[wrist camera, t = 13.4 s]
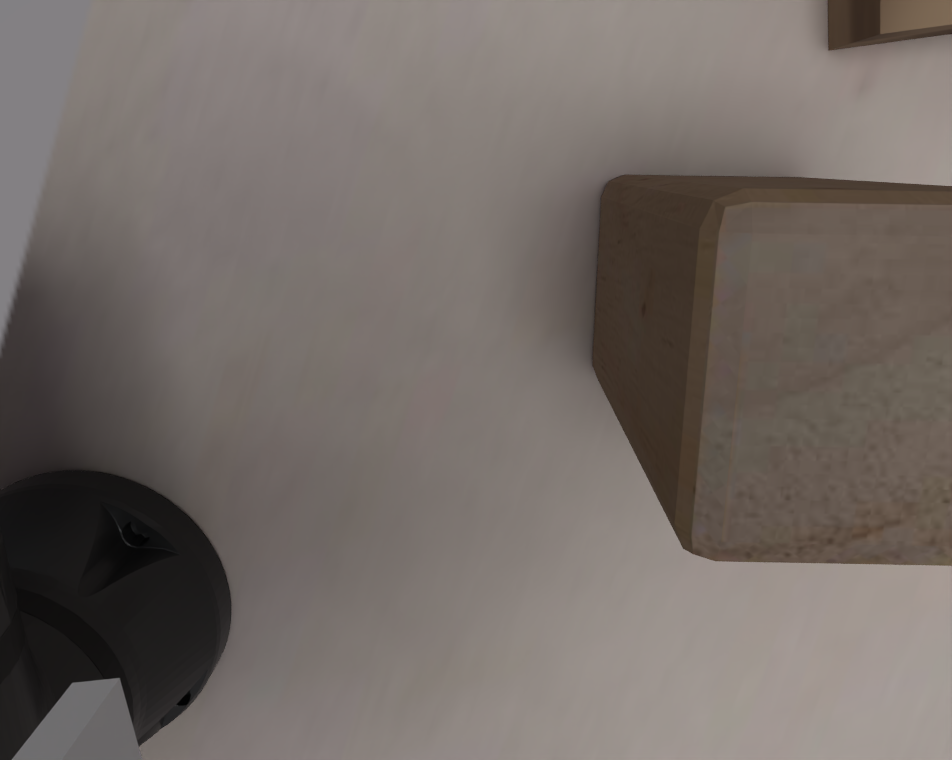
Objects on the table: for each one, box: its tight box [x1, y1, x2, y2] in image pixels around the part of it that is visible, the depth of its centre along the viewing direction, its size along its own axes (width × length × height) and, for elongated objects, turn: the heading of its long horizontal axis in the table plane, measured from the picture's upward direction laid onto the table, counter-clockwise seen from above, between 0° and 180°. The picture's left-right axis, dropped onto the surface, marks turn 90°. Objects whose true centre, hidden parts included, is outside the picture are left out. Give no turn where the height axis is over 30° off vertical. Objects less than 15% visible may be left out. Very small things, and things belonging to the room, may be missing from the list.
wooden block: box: [592, 175, 952, 566], centre depth 30 cm, size 10×10×20 cm
